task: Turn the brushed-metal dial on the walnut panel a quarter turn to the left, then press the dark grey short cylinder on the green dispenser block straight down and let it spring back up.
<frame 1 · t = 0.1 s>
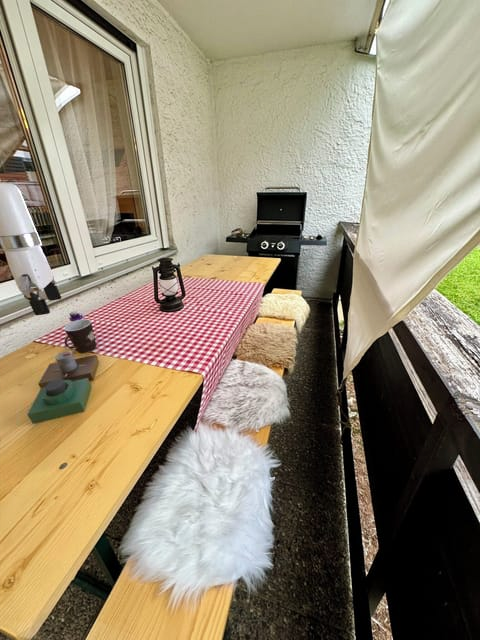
hand: (49, 306, 70), 25 cm above the table, tool pointing down, fingers open, 9 cm apart
dispenser: (64, 404, 72), on the table
dark grey short cylinder: (56, 387, 69), point 6 cm above the table, slide at 0.1 cm
potion bottle: (85, 340, 102), on the table
dial: (66, 361, 80), point 6 cm above the table, hinge at 0.0°
dial panel: (72, 375, 82), on the table
coffee mug: (83, 350, 95), on the table
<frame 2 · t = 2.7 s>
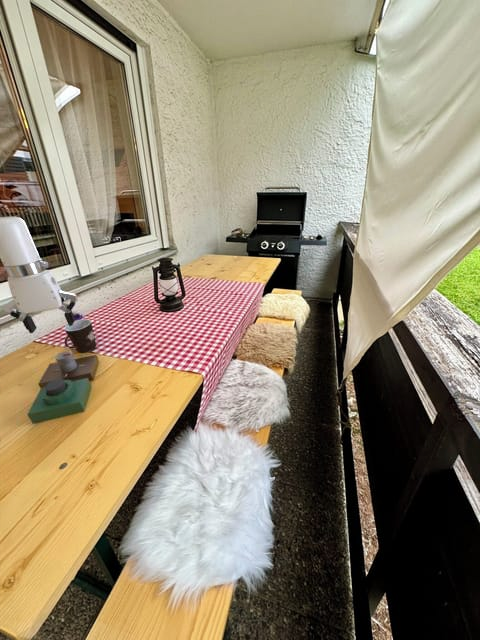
hand: (53, 327, 74), 18 cm above the table, tool pointing down, fingers open, 9 cm apart
nothing on the table moved.
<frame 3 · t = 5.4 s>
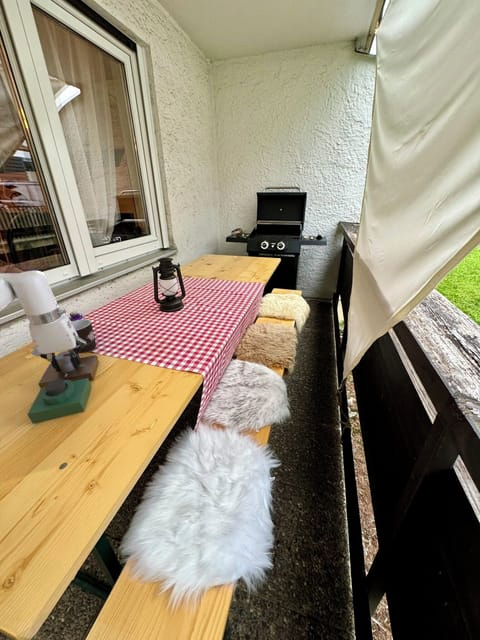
hand: (68, 366, 81), 4 cm above the table, tool pointing down, fingers closed on dial, 4 cm apart
dial: (66, 361, 80), point 6 cm above the table, hinge at 0.0°, touching gripper
everything else where it was.
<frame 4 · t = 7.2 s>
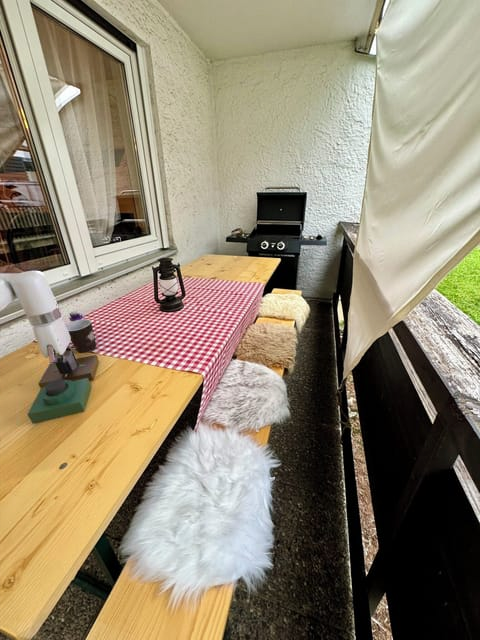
hand: (68, 366, 81), 4 cm above the table, tool pointing down, fingers closed on dial, 4 cm apart
dial: (66, 361, 80), point 6 cm above the table, hinge at 90.5°, touching gripper
everything else where it was.
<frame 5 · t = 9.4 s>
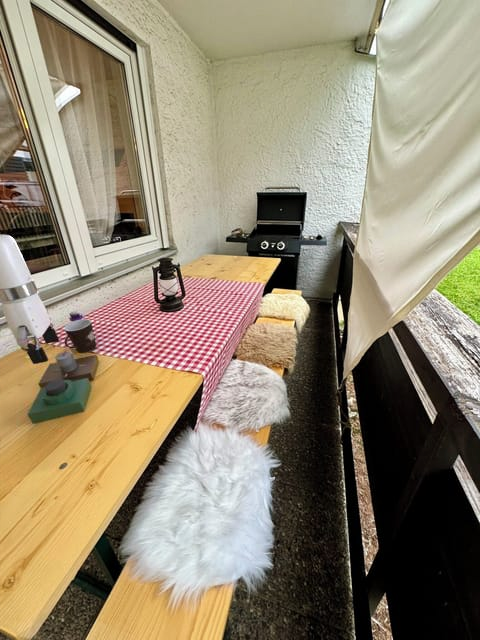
hand: (47, 351, 68), 15 cm above the table, tool pointing down, fingers open, 9 cm apart
dial: (66, 361, 80), point 6 cm above the table, hinge at 90.6°
everything else where it was.
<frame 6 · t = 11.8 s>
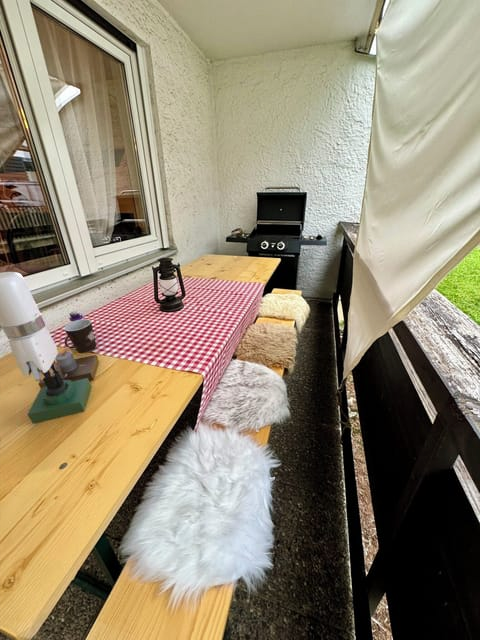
hand: (56, 385, 68), 7 cm above the table, tool pointing down, fingers closed
dark grey short cylinder: (56, 388, 69), point 6 cm above the table, slide at -0.4 cm, touching gripper
everything else where it was.
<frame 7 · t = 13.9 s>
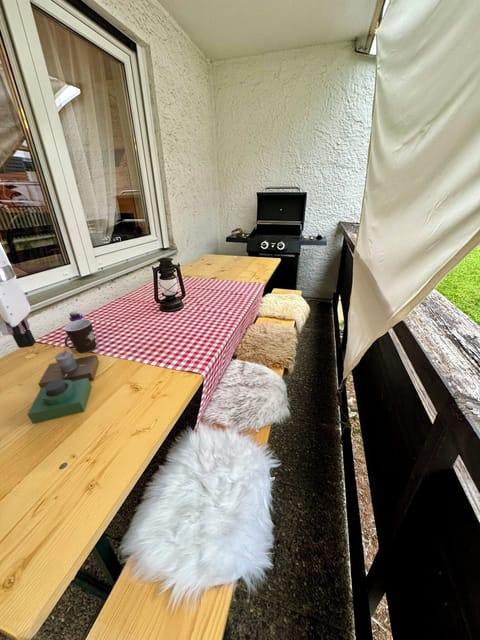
hand: (27, 345, 65), 18 cm above the table, tool pointing down, fingers closed
dark grey short cylinder: (56, 387, 69), point 6 cm above the table, slide at 0.1 cm
everything else where it was.
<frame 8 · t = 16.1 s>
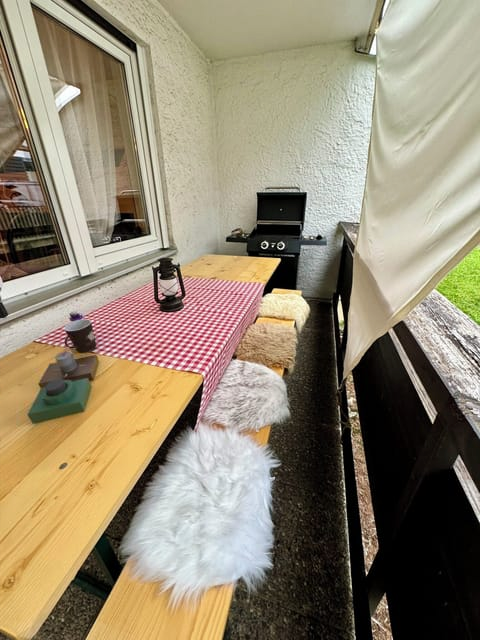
hand: (0, 317, 69), 23 cm above the table, tool pointing down, fingers closed
nothing on the table moved.
at the end: dial at +91° (first picture: +0°); dark grey short cylinder pushed in 1.3 cm at the most during the clip, back to where it started at the end; dark grey short cylinder slide at 0.1 cm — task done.
